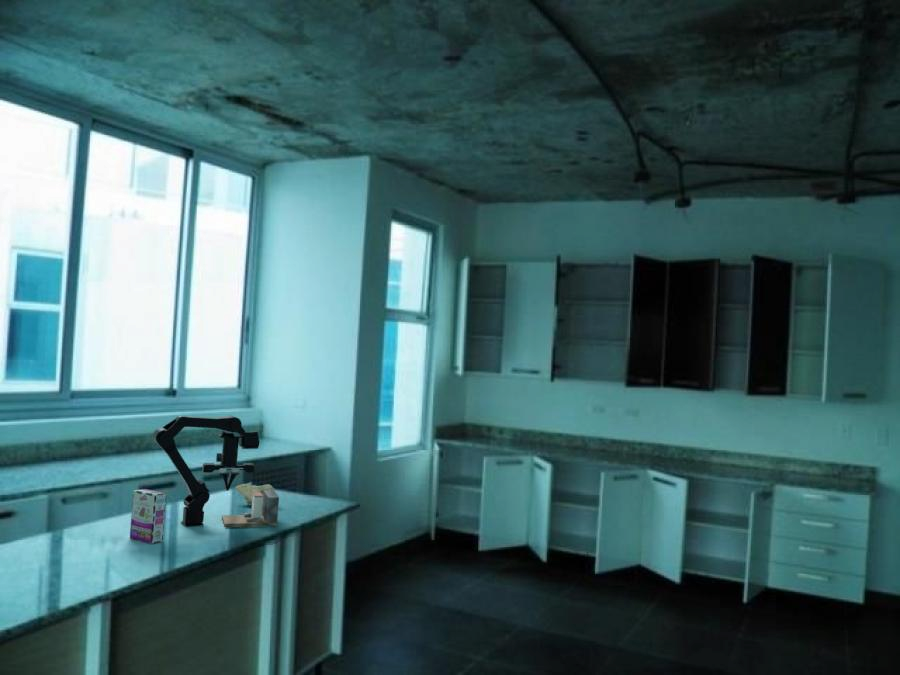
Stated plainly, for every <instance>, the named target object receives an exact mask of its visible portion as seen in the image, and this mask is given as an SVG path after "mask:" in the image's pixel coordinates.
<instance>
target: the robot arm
mask: <svg viewBox="0 0 900 675" xmlns="http://www.w3.org/2000/svg"><path fill="white" fill-rule="evenodd" d="M242 424H243V423H242V420H241V419H240V418H238V417H236V416H234V415H224V416H218V417H217V416H216V417H209V416H206V417H204V416H189V415H188V416H187V415H178V416H177V417H175V418H174V419H172V420H171V421H169V422H168V423H166V424H164V426H163V427H160V428H157V429H155V430H154V431H153V434H152V439H153V441H154V442H155V444H157V445H158V446H159V447H160V449H162V451H163V452H164V453H165V454H166V455H167V457H168V458H169V459H170V461H171V463H172V465H173V466H174V467H175V469H176V471H177V472H178V474H179V475H180V477H181V478H182V480H183V482H184V483H185V486H186V489H187V493H188V495H187V496H186V497H185V498H184V499H183V500H182V502H183V504H184V507H183V509H182V510H183V511H182V521H180V524H182V525H183V526H185V527H196V526H203V525H204V518H205V511H204V507H205V504H207V502H209V500H210V495H211V494H210V491H211V490H209V488H208V487H207V484H206V483H205V482H204V481H203V480H202V479H199V480H197V478H196V477H195V475H194V474H193V472H192V471H191V469H190V467H189V466H188V463H187V462H186V461H185V460H184V458H183V456H182V455H181V453H180V451H179V450H178V448H177V447H178V446H177V445H176V441H175V437H176V436H177V435H178V434H180V432H181V431H182V430H183V429H184V428H203V429H204V428H205V429H206V428H207V429H217V430H220V433H219V434H218V435H217V437H219V438H221V439H222V450H221V451H222V452H221V453H220V452H218V453H216V457H215V458H216V459H215V460H216V461H215V462H216V463H220V464H215V463H214V462H204V463H203V464H202V472H203V473H207V474H208V473H214V472H215V471H217V473H218V476H219V475H221V476H222V479H223V483H224V486H225V491H229V490H230V488H231V486H232V484H233V481H234V480H235V478H236V476H238V475H240V471H245V473H255V472H256V466H255V464H254V463H252V462H243V463H242V464H238V457H239V456H238V455H239V447H241V449H242V450H258V449H259V446H260V436H259V432H258V430H257V431H256V430H253V431H245V429H244V428H243V427H242ZM221 430H222V431H221ZM234 433H235V434H234ZM236 434H238V435H236ZM227 471H229V477H228V472H227Z"/></svg>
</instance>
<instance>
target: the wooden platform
mask: <svg viewBox="0 0 900 675" xmlns="http://www.w3.org/2000/svg"><path fill="white" fill-rule="evenodd" d="M274 490H275V489H274ZM274 490H264V491H263V504H262V514H261V520H260V518H252V517H251V512H244V514H229V515H227V514H224V515H221V521H223V522H222V525H223V524H224V525H223V527H240V528H259V527H258V526H277V527H278V516H279V502H280V496H279V495H278V494H277V493H276V490H275V491H274ZM253 526H254V527H253Z"/></svg>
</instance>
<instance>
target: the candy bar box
mask: <svg viewBox="0 0 900 675" xmlns="http://www.w3.org/2000/svg"><path fill="white" fill-rule="evenodd" d="M167 495H168V494H167V492H162V491H157V490H152V489H148V488H141V489H136V490H133V493H132V506H131V517H130V530H129V539H130V540H135V541H138V542H142V543H146V544H150V545H154V544H158V543H162V542H163V541H164V533H165V532H164V530H165V517H166V506H167V504H166V503H167ZM161 541H162V542H161Z"/></svg>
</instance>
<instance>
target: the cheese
mask: <svg viewBox="0 0 900 675" xmlns="http://www.w3.org/2000/svg"><path fill="white" fill-rule="evenodd" d="M252 483H253V482H252V481H250V482H248V483H243V484H238V485H237V486H235V487H234V488H235V491H236V492H237V493H239V495H241V496H242V497H243V499H244V500H245V502H246V505H252V497H253V493H261V494H262V495H263V491H264V490H274V491H275V492H276V490H275V489H274V487H273V486H272V485H271V484H263V485H258V486H257V485H253V484H252ZM262 504H263V501H262Z"/></svg>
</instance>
